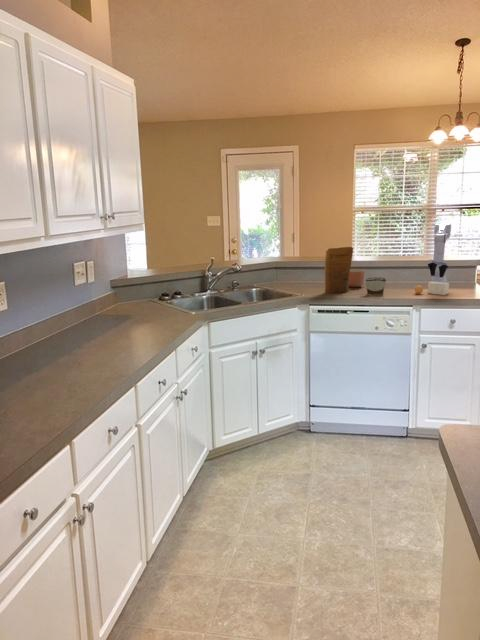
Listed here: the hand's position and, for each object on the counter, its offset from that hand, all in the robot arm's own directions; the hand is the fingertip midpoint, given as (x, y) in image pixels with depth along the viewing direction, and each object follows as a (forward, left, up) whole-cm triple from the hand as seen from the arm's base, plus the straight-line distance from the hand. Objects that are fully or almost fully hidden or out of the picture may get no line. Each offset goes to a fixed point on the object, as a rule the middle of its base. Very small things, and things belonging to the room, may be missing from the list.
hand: (437, 276), depth 310 cm
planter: (+10, -52, -11) cm, 54 cm away
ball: (+7, -8, -8) cm, 13 cm away
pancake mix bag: (+35, -47, -11) cm, 59 cm away
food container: (+25, -27, -11) cm, 38 cm away
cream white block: (-2, 0, -10) cm, 11 cm away
